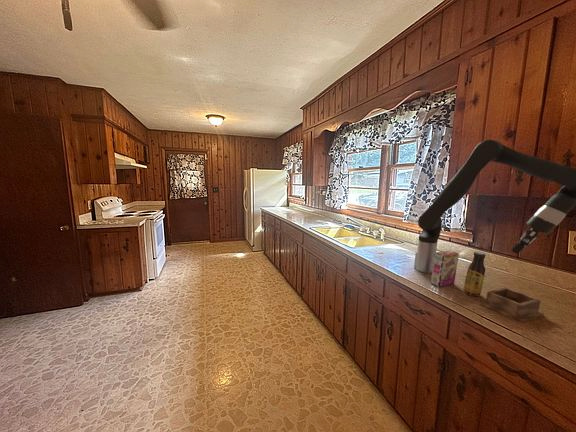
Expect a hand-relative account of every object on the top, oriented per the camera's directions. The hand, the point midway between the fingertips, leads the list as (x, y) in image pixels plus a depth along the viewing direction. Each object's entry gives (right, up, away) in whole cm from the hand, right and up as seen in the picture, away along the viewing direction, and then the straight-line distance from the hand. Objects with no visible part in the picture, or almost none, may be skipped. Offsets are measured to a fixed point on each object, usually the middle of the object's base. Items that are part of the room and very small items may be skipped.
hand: (514, 251), depth 100 cm
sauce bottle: (-11, -21, +9) cm, 25 cm away
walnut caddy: (-5, -23, -3) cm, 24 cm away
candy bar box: (-18, -19, +19) cm, 33 cm away
